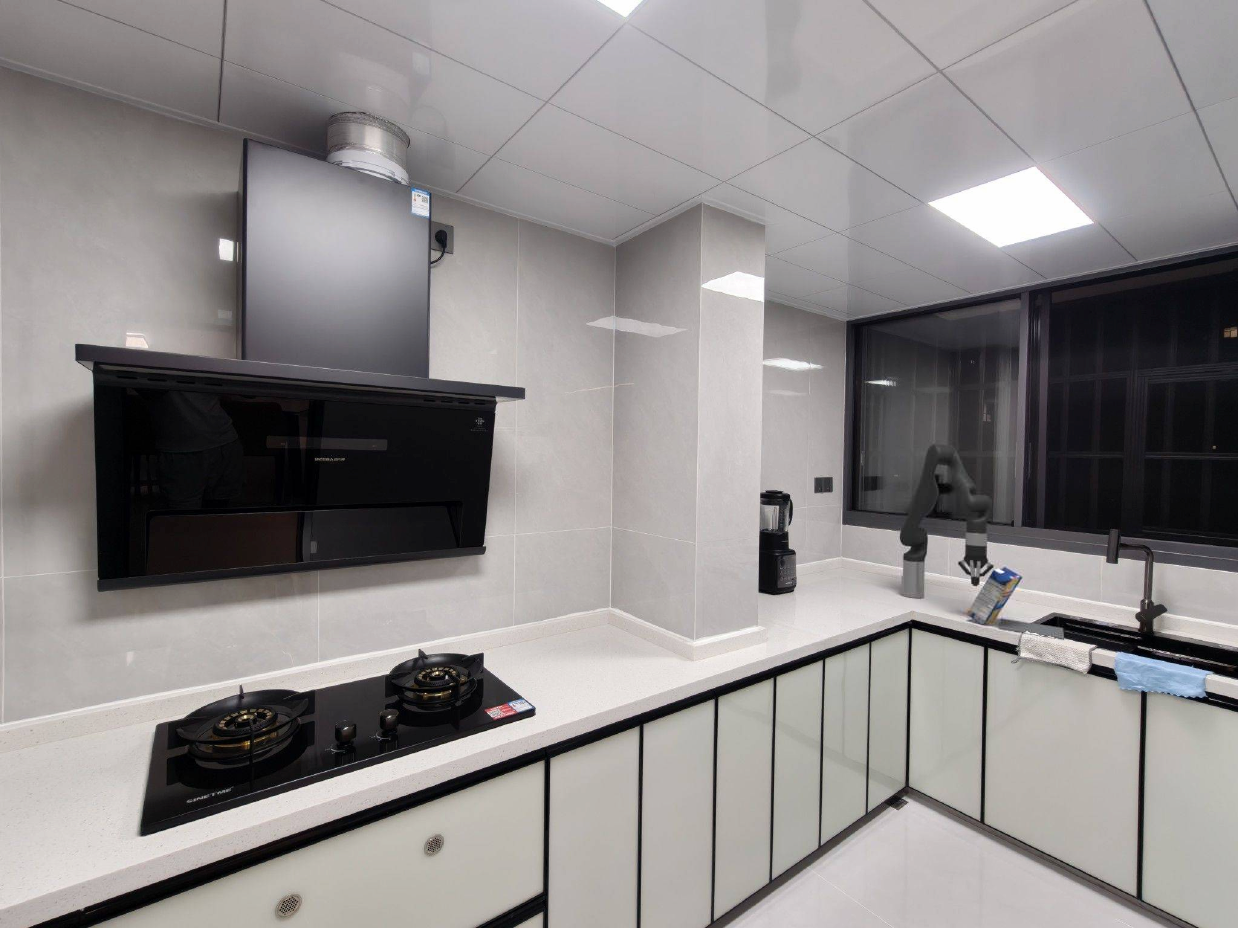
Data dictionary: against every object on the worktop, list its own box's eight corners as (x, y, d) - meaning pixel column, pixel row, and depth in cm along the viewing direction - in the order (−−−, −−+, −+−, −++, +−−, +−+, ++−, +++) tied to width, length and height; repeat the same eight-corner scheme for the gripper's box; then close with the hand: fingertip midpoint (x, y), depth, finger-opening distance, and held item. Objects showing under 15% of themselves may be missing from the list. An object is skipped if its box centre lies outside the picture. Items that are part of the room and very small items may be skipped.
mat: (998, 628, 219) (998, 627, 219) (1001, 619, 231) (1001, 618, 231) (1064, 639, 206) (1064, 638, 206) (1062, 629, 219) (1062, 628, 219)
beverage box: (966, 614, 228) (993, 569, 220) (978, 610, 235) (1005, 566, 226) (982, 625, 223) (1011, 580, 215) (994, 620, 230) (1022, 577, 221)
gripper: (956, 543, 231) (955, 585, 231) (994, 546, 223) (993, 589, 223) (958, 541, 237) (957, 581, 237) (996, 544, 228) (995, 586, 229)
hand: (975, 585), depth 230 cm, fingers closed
